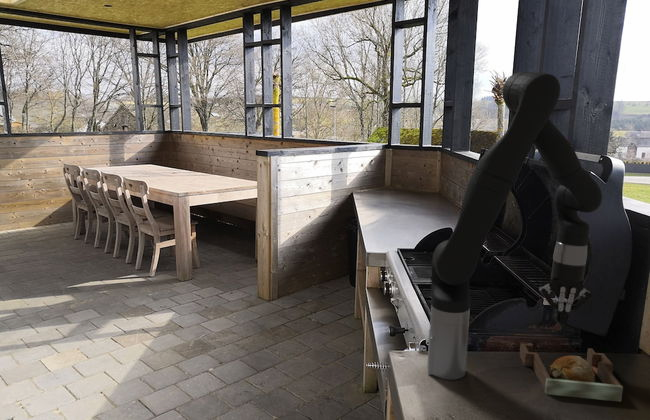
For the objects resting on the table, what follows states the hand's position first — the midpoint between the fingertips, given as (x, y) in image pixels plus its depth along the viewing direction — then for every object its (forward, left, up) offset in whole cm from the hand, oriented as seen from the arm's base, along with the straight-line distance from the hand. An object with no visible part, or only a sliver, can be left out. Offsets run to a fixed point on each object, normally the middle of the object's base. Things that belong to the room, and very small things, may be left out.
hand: (560, 323), depth 127 cm
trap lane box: (+1, -9, -10) cm, 14 cm away
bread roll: (0, -11, -11) cm, 15 cm away
